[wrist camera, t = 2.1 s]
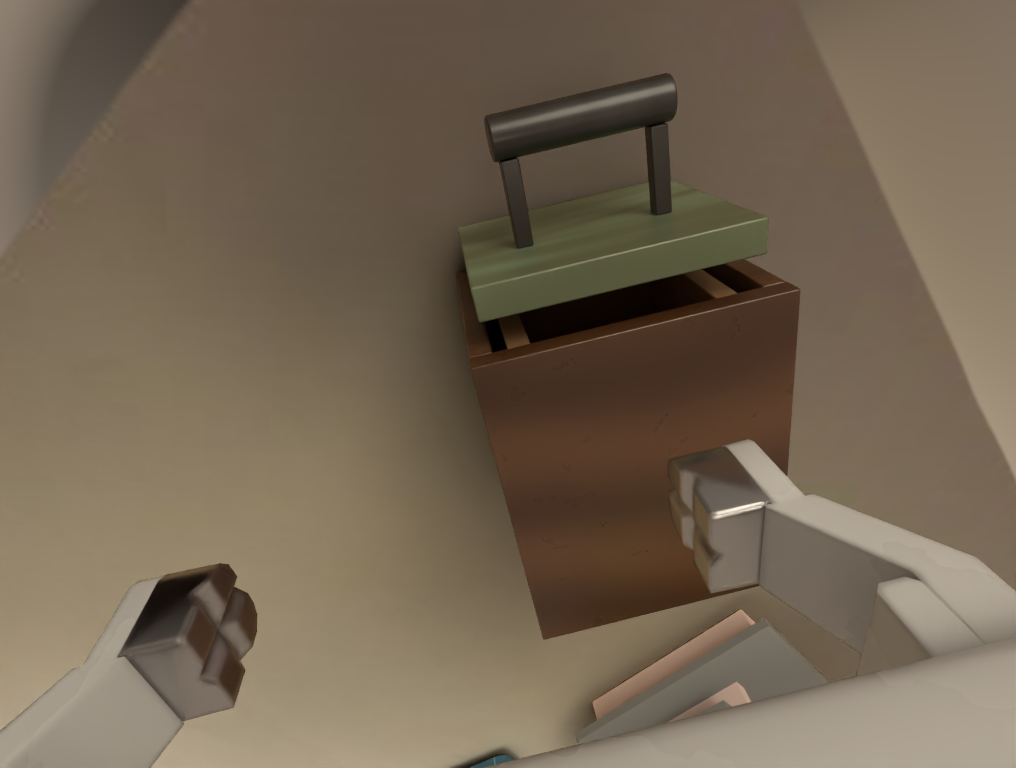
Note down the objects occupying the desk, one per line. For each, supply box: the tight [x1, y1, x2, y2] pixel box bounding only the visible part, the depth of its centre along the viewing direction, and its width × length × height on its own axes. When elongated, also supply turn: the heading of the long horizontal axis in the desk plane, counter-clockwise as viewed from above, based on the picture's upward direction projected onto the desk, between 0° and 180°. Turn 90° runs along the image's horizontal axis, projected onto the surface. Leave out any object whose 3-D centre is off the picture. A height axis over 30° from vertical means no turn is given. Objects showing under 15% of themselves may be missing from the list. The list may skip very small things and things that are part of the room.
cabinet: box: [456, 259, 800, 640], centre depth 25 cm, size 14×11×10 cm
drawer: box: [458, 73, 768, 350], centre depth 22 cm, size 17×9×8 cm, turn 12°
